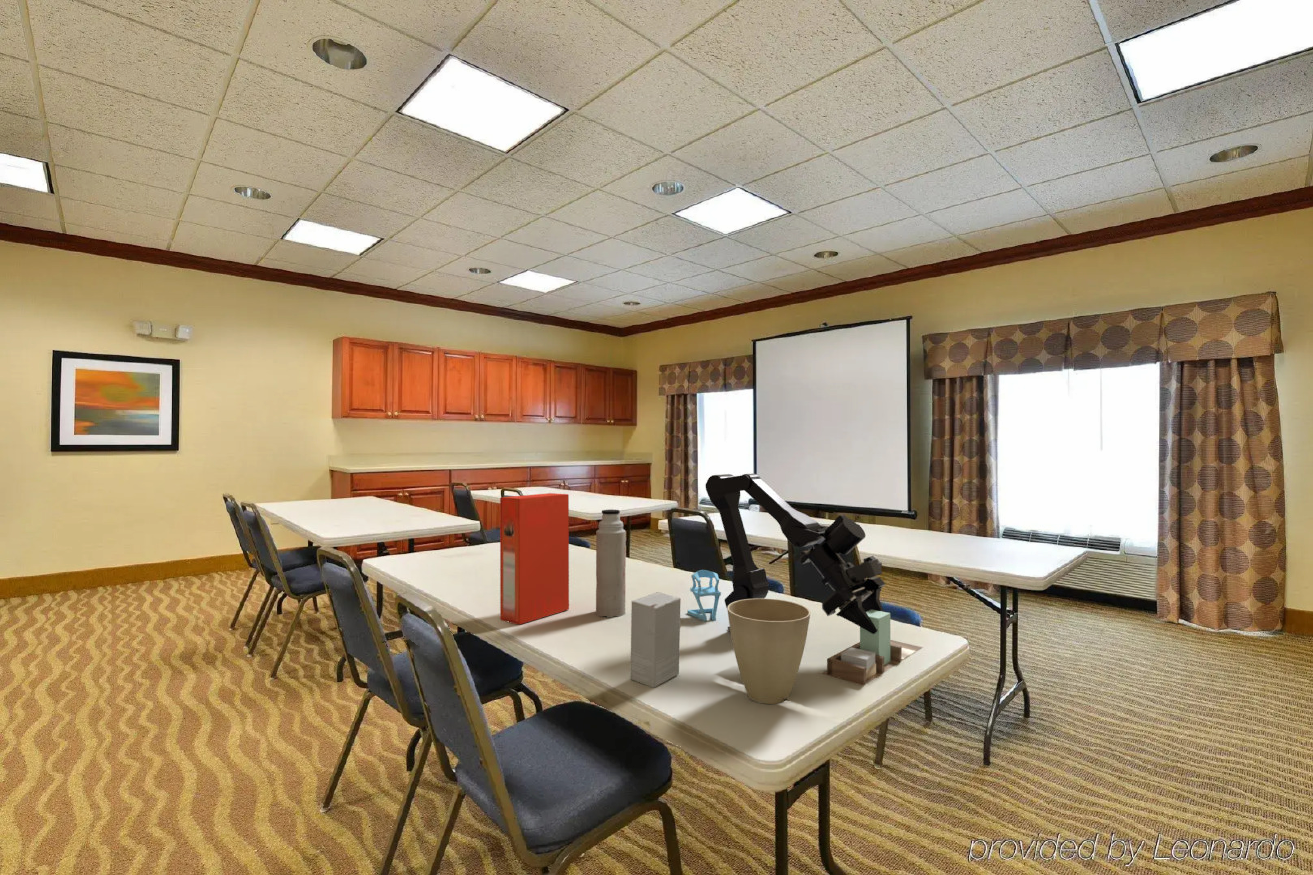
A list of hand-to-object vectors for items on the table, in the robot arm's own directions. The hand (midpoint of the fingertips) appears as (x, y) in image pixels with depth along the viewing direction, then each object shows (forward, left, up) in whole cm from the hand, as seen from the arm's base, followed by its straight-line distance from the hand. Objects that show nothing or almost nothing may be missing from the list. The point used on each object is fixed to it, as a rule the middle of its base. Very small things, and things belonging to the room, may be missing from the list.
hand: (881, 629), depth 124 cm
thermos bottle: (-47, +53, -8) cm, 72 cm away
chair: (-23, +44, -8) cm, 51 cm away
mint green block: (-1, +1, -7) cm, 7 cm away
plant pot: (-28, -7, -8) cm, 30 cm away
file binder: (-67, +56, -8) cm, 88 cm away
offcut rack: (0, +3, -8) cm, 9 cm away
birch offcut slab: (-8, -3, -7) cm, 11 cm away
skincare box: (-46, +6, -8) cm, 47 cm away
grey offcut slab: (-8, -3, -5) cm, 10 cm away
